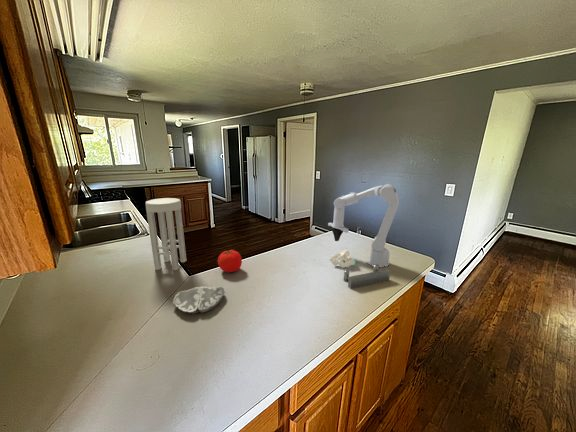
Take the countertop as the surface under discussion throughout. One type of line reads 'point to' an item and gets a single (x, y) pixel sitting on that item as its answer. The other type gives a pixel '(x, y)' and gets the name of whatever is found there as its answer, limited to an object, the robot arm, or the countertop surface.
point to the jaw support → (345, 257)
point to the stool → (168, 207)
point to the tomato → (229, 261)
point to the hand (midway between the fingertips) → (336, 240)
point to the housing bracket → (366, 277)
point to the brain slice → (198, 299)
